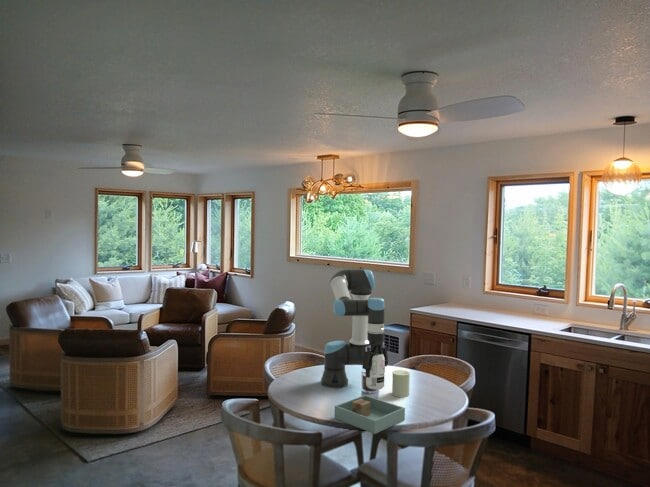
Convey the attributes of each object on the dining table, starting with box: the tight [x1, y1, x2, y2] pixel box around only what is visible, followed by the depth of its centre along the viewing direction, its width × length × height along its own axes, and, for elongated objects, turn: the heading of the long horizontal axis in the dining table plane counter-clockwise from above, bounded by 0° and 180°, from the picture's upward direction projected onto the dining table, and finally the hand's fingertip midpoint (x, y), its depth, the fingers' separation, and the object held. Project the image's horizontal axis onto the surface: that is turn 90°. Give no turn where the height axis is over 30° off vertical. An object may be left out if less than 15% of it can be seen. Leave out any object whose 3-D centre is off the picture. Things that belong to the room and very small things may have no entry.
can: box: [391, 369, 411, 398], centre depth 252 cm, size 9×9×12 cm
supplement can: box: [365, 353, 386, 390], centre depth 217 cm, size 8×8×15 cm
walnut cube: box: [352, 399, 371, 417], centre depth 222 cm, size 6×6×6 cm
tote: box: [334, 394, 406, 435], centre depth 219 cm, size 24×22×6 cm
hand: (375, 382), depth 217 cm, fingers closed on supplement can, 8 cm apart
